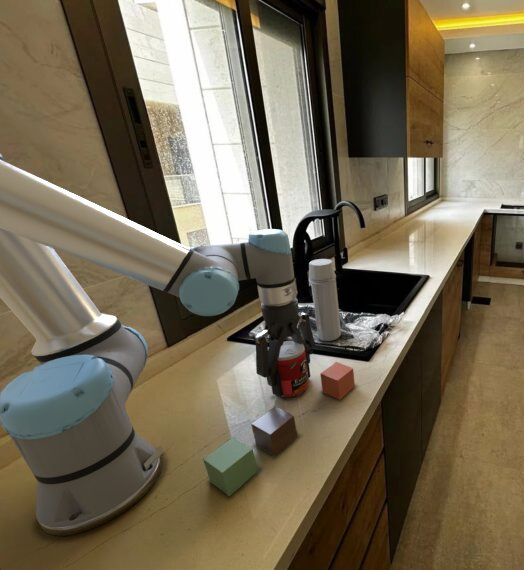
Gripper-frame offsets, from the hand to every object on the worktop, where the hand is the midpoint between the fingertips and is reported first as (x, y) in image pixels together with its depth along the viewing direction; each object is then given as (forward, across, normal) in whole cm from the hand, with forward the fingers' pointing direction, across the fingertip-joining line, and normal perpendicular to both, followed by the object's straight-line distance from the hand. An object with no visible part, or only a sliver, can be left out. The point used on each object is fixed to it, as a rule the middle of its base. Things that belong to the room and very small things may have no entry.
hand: (292, 384), depth 80 cm
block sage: (+1, -22, -10) cm, 24 cm away
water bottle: (+1, +22, +10) cm, 24 cm away
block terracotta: (+1, +5, -10) cm, 12 cm away
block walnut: (+1, -13, -10) cm, 16 cm away
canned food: (+1, 0, 0) cm, 1 cm away
